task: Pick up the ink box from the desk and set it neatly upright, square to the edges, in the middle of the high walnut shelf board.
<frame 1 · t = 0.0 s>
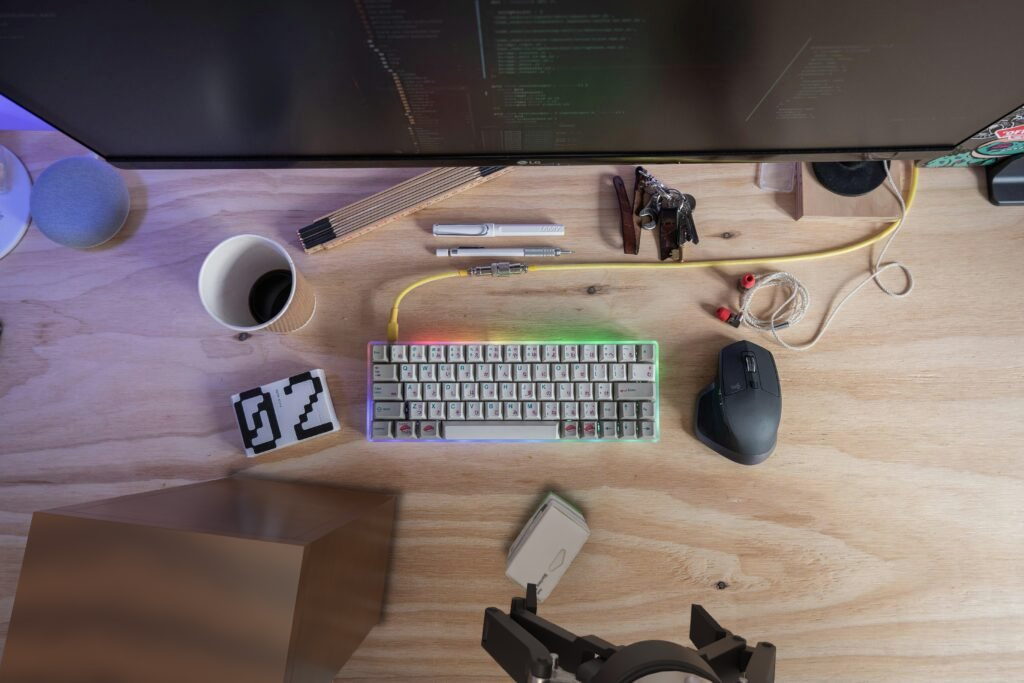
hand: (611, 610, 49), 21 cm above the table, tool pointing down, fingers open, 13 cm apart
ink box: (545, 531, 71), on the table
shelf stand: (305, 546, 71), on the table
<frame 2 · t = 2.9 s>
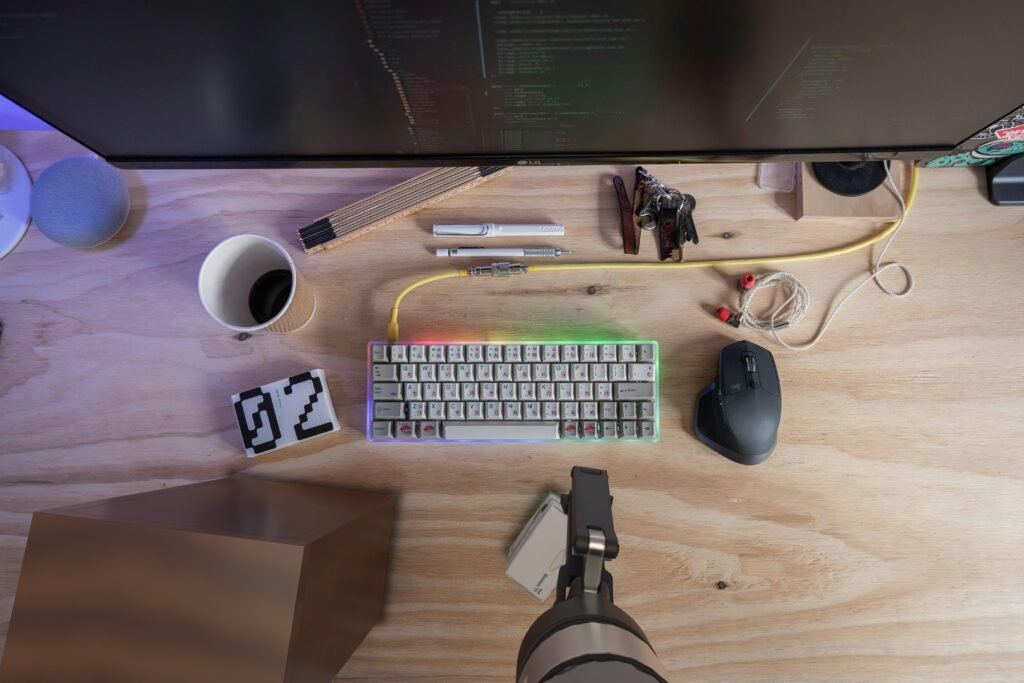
hand: (566, 583, 50), 21 cm above the table, tool pointing down, fingers open, 13 cm apart
nothing on the table moved.
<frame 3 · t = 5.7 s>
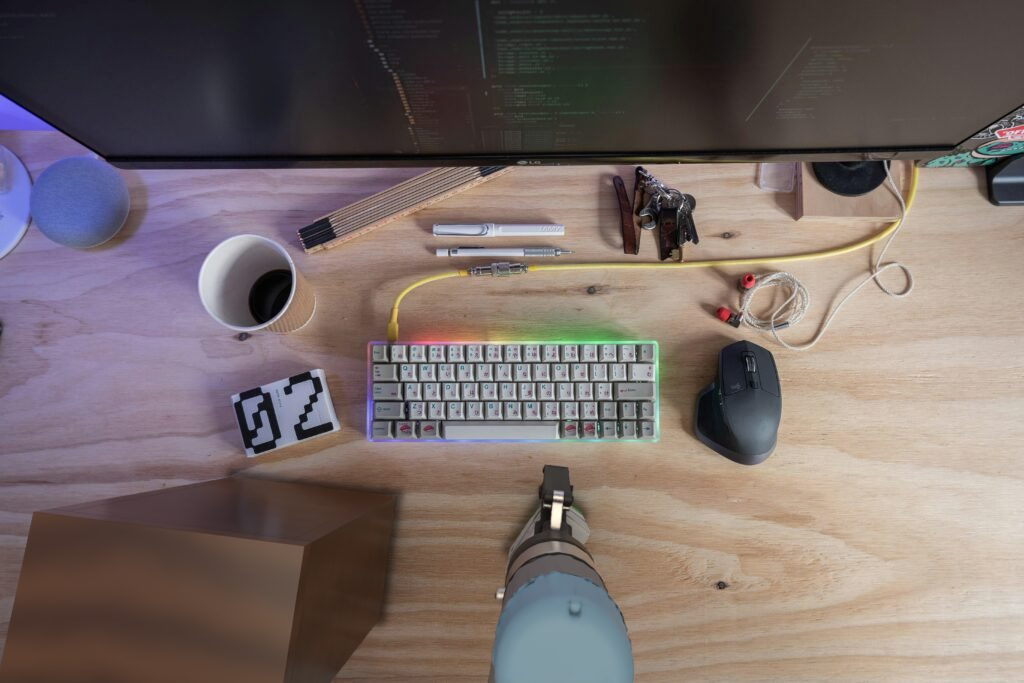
hand: (545, 536, 68), 3 cm above the table, tool pointing down, fingers closed on ink box, 9 cm apart
ink box: (545, 531, 71), on the table, touching gripper
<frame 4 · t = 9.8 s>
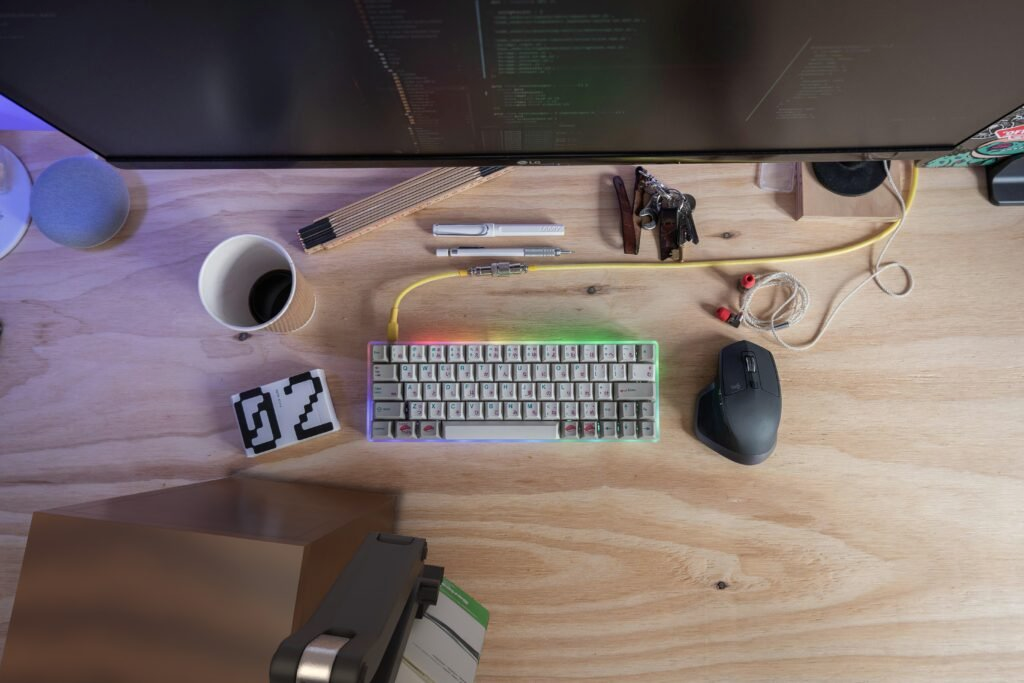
hand: (405, 667, 32), 39 cm above the table, tool pointing down, fingers closed on ink box, 9 cm apart
ink box: (416, 648, 35), point 36 cm above the table, touching gripper
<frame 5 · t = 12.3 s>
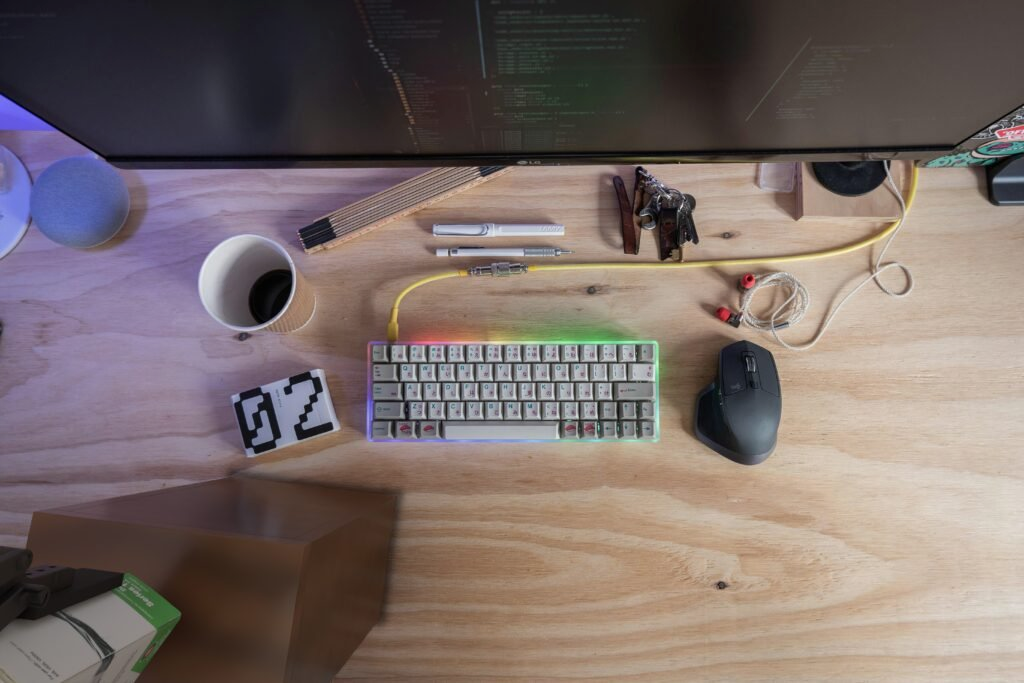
hand: (84, 665, 36), 36 cm above the table, tool pointing down, fingers closed on ink box, 9 cm apart
ink box: (116, 647, 39), point 33 cm above the table, touching gripper
when the fingers open (32 cm above the table, at t = 13.9 s): ink box stays where it is, resting on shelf.
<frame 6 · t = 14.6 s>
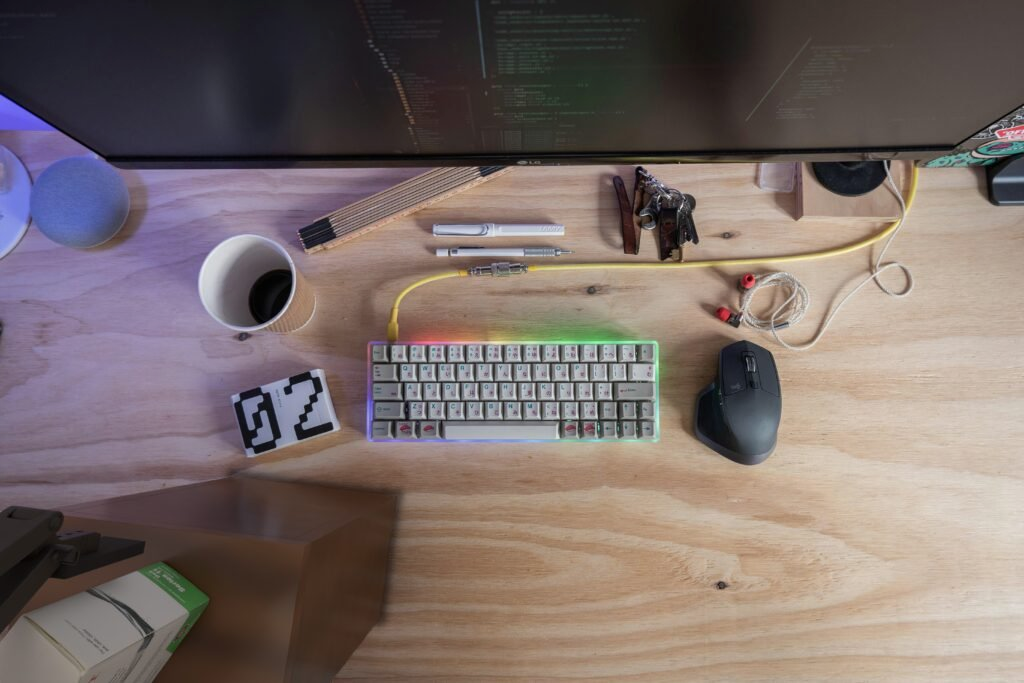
hand: (102, 657, 37), 34 cm above the table, tool pointing down, fingers open, 13 cm apart
ink box: (150, 630, 42), point 29 cm above the table, touching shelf
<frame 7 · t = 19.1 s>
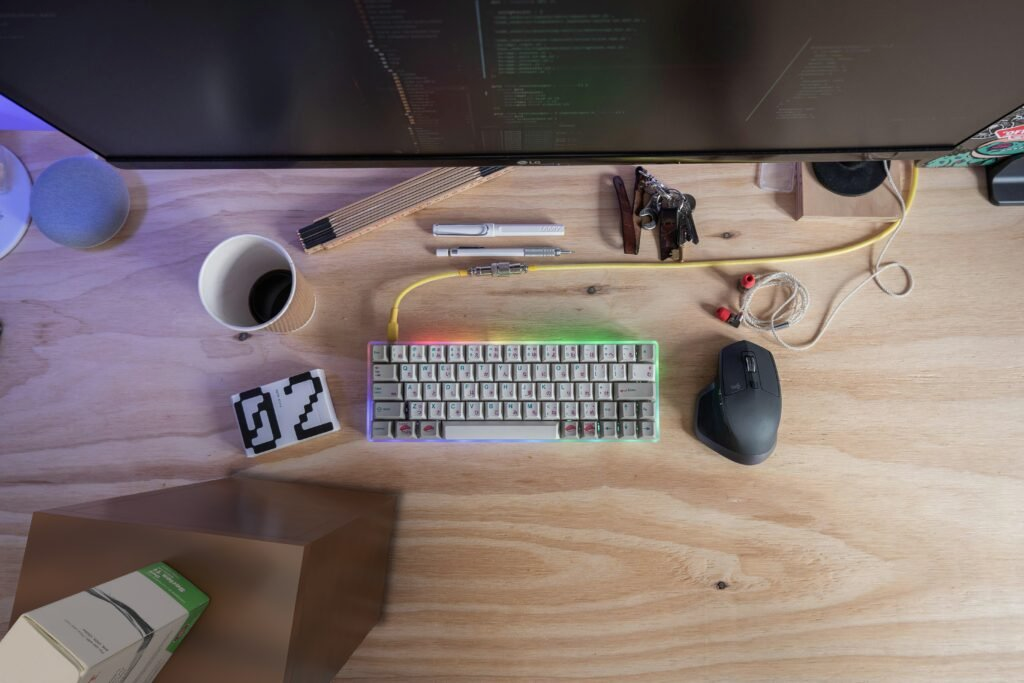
nothing on the table moved.
at the end: ink box inside the target area on the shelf (0.0 cm from its centre), point 1.3 cm above the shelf's base; ink box tilted 0°; the gripper is holding nothing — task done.
